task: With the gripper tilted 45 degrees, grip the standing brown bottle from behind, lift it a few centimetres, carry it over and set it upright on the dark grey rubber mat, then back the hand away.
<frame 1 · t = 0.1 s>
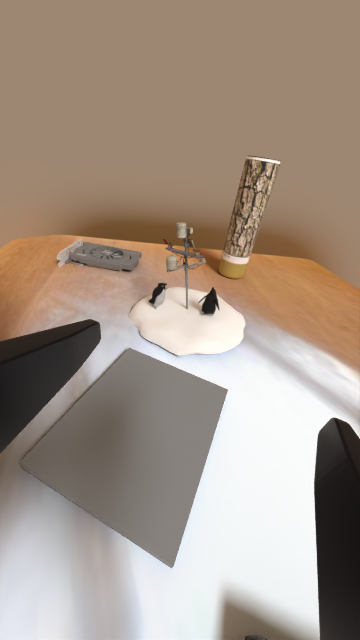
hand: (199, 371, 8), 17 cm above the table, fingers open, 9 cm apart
mat: (143, 424, 24), on the table
figurine: (186, 322, 40), on the table
paper tube: (230, 274, 60), on the table
graphics card: (102, 266, 55), on the table
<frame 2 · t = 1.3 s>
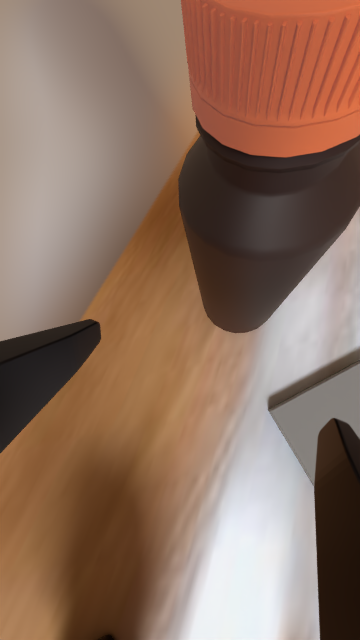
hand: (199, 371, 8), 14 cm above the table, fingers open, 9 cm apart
brown bottle: (237, 301, 23), on the table
when the fingers open (11 cm above the table, at t = 8.8 s): brown bottle stays where it is, resting on mat.
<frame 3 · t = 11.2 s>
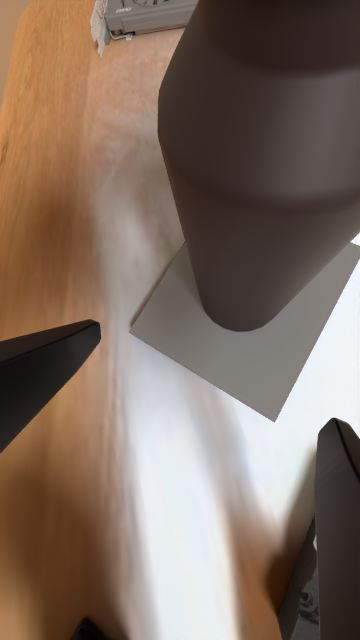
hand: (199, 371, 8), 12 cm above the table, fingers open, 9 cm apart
mat: (239, 295, 21), on the table
brown bottle: (239, 295, 20), point 1 cm above the table, touching mat
graphics card: (159, 26, 32), on the table
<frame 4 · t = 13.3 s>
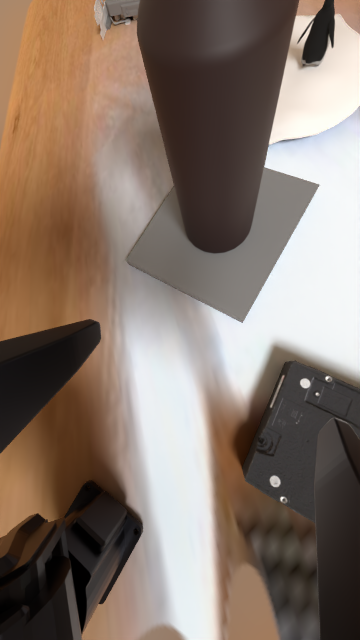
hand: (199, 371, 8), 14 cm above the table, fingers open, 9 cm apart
disk drive: (349, 455, 19), on the table
mat: (218, 229, 25), on the table
figurine: (275, 92, 28), on the table
brown bottle: (217, 226, 24), point 1 cm above the table, touching mat
graphics card: (154, 12, 36), on the table
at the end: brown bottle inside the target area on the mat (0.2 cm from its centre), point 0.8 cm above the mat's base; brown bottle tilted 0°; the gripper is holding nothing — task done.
